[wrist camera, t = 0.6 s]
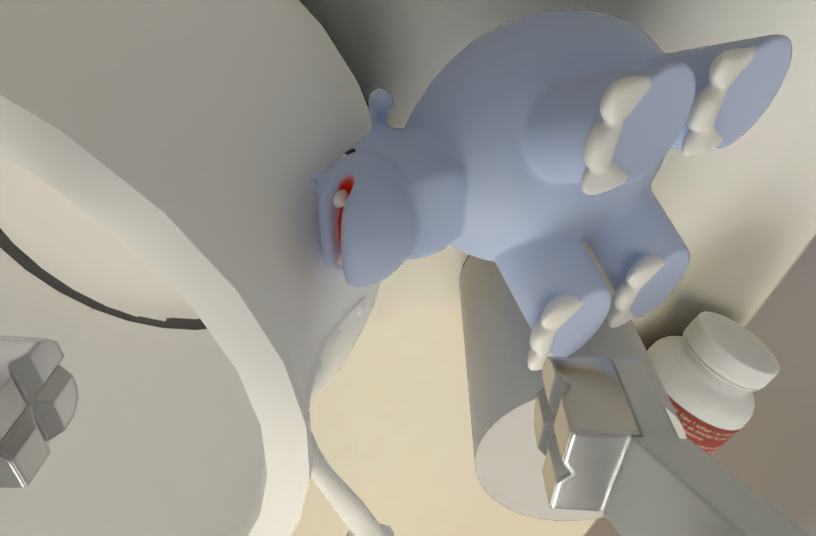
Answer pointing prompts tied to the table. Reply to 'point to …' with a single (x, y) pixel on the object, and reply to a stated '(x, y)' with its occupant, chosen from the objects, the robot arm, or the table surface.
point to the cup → (522, 388)
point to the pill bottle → (712, 377)
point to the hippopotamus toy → (546, 166)
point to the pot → (176, 259)
